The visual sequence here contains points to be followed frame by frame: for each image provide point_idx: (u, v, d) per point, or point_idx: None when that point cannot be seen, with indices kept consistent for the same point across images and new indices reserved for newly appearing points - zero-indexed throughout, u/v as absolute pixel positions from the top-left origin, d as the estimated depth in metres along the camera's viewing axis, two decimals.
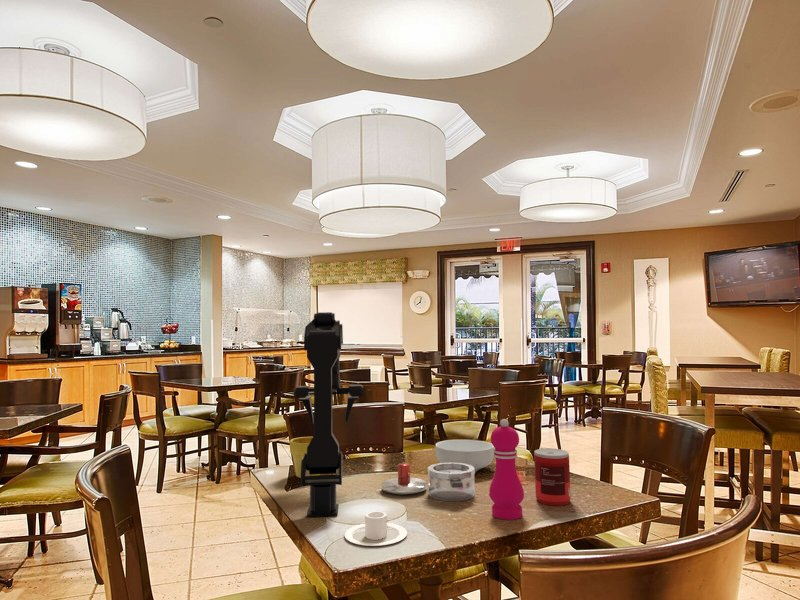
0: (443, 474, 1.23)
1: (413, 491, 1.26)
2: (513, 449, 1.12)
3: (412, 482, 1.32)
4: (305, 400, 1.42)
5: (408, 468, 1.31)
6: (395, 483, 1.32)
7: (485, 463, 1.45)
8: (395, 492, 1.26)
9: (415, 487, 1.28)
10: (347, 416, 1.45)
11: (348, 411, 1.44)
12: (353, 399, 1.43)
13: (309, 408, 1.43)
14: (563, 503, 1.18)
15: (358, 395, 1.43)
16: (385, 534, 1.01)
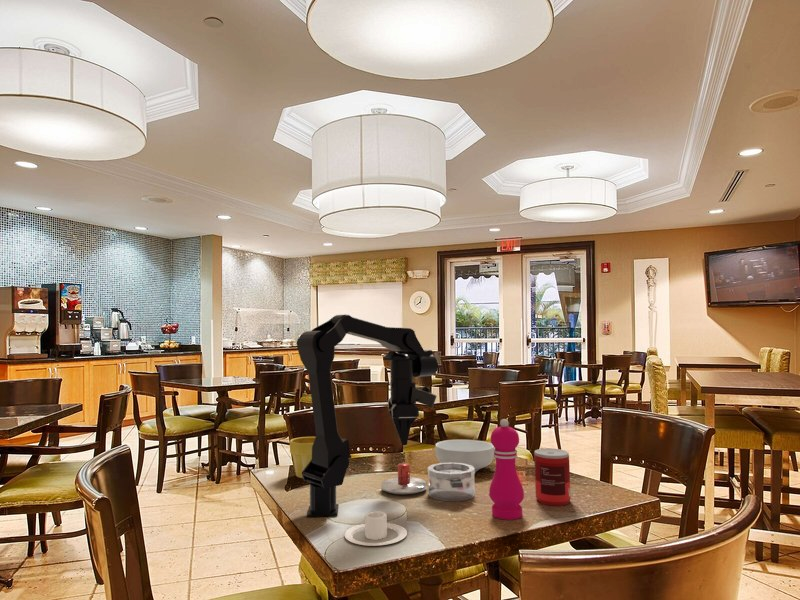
0: (443, 474, 1.23)
1: (413, 491, 1.26)
2: (513, 449, 1.12)
3: (412, 482, 1.32)
4: (389, 411, 1.39)
5: (408, 468, 1.31)
6: (395, 483, 1.32)
7: (485, 463, 1.45)
8: (395, 492, 1.26)
9: (415, 487, 1.28)
10: (399, 437, 1.27)
11: (397, 432, 1.27)
12: (392, 419, 1.26)
13: None
14: (563, 503, 1.18)
15: (392, 415, 1.25)
16: (385, 534, 1.01)
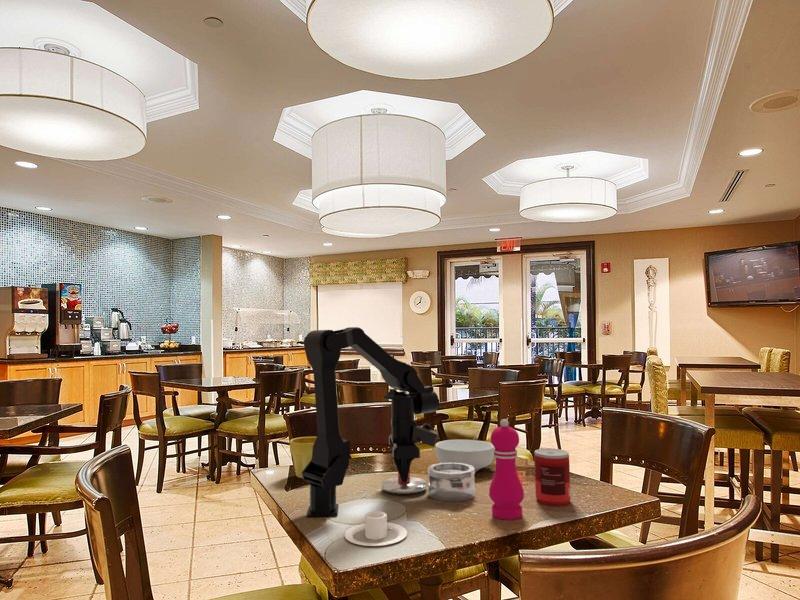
0: (443, 474, 1.23)
1: (413, 491, 1.26)
2: (513, 449, 1.12)
3: (412, 482, 1.32)
4: None
5: None
6: (395, 482, 1.32)
7: (485, 463, 1.45)
8: (395, 492, 1.26)
9: (415, 487, 1.28)
10: None
11: None
12: None
13: None
14: (563, 503, 1.18)
15: (393, 456, 1.24)
16: (385, 534, 1.01)
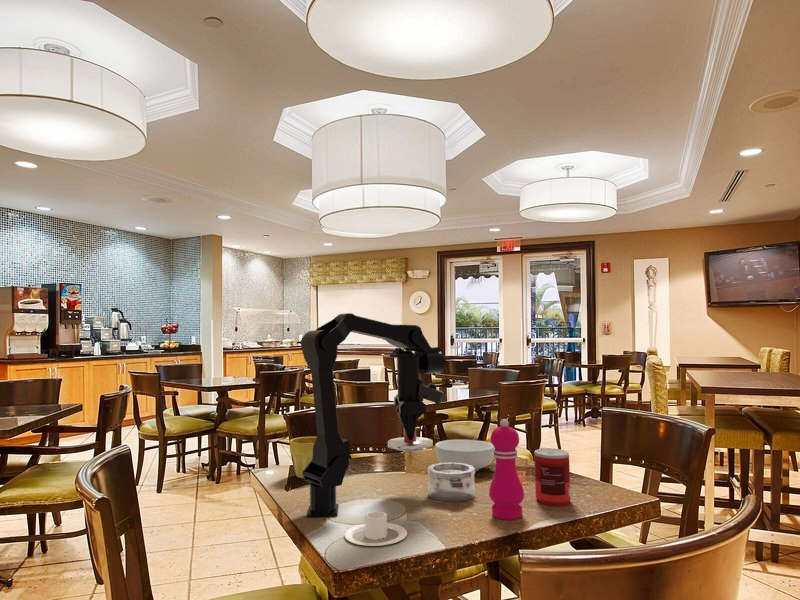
0: (443, 474, 1.23)
1: (419, 447, 1.27)
2: (513, 449, 1.12)
3: (418, 440, 1.32)
4: None
5: None
6: (401, 441, 1.32)
7: (485, 463, 1.45)
8: (401, 448, 1.27)
9: (421, 444, 1.28)
10: (406, 432, 1.30)
11: (403, 427, 1.30)
12: (399, 414, 1.28)
13: (400, 419, 1.34)
14: (563, 503, 1.18)
15: (400, 412, 1.24)
16: (385, 534, 1.01)
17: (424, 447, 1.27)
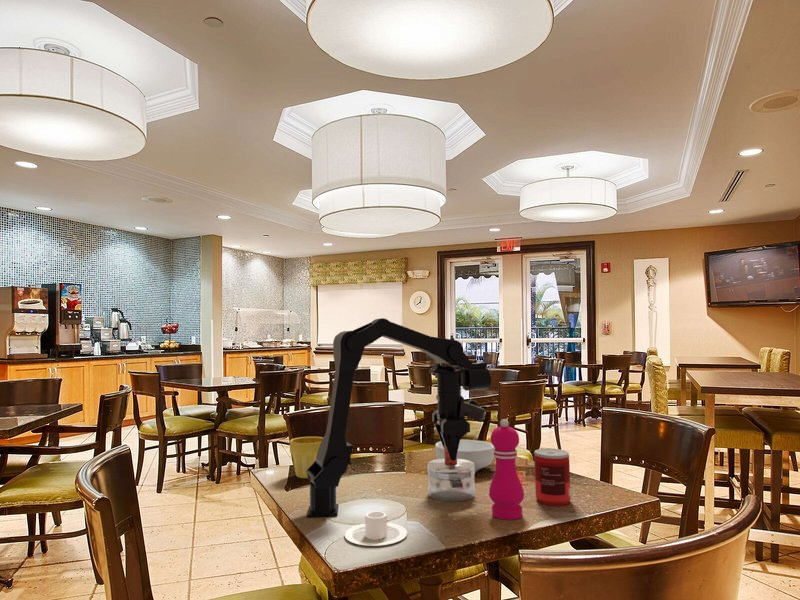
0: (443, 474, 1.23)
1: (462, 471, 1.23)
2: (513, 449, 1.12)
3: (459, 463, 1.28)
4: (435, 425, 1.33)
5: None
6: (441, 463, 1.28)
7: (485, 463, 1.45)
8: (443, 472, 1.23)
9: (464, 467, 1.24)
10: (448, 452, 1.24)
11: (446, 447, 1.24)
12: (441, 433, 1.23)
13: None
14: (563, 503, 1.18)
15: (442, 431, 1.20)
16: (385, 534, 1.01)
17: (466, 471, 1.23)
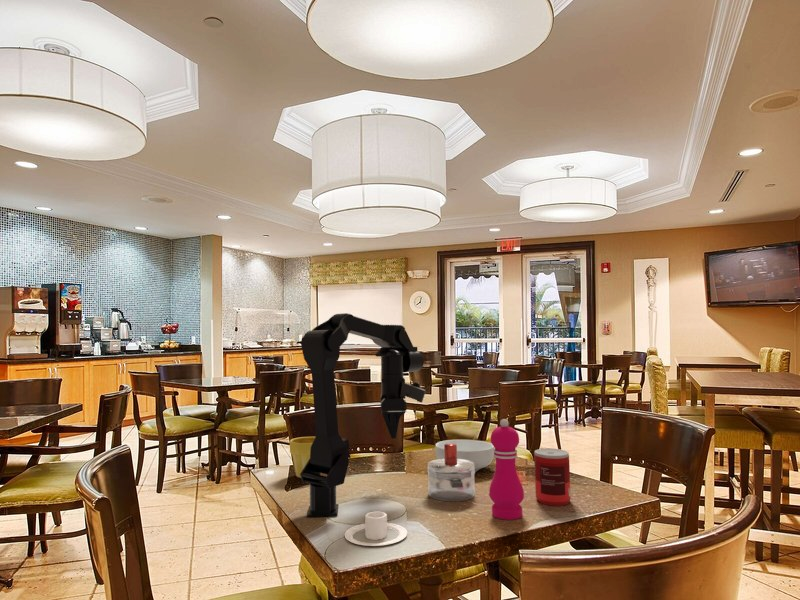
0: (443, 474, 1.23)
1: (462, 471, 1.23)
2: (513, 449, 1.12)
3: (459, 463, 1.28)
4: None
5: (455, 448, 1.27)
6: (441, 463, 1.28)
7: (485, 463, 1.45)
8: (443, 472, 1.23)
9: (464, 467, 1.24)
10: None
11: None
12: (381, 412, 1.30)
13: None
14: (563, 503, 1.18)
15: (381, 409, 1.29)
16: (385, 534, 1.01)
17: (466, 471, 1.23)
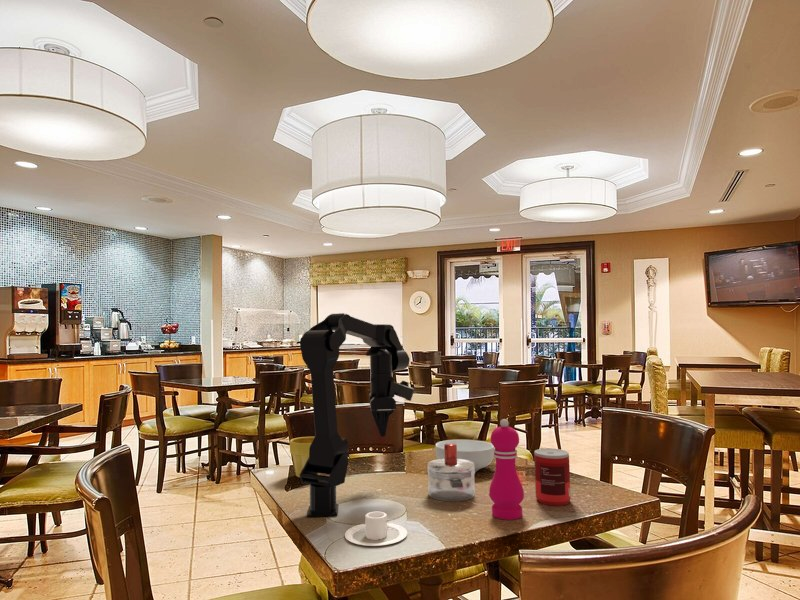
0: (443, 474, 1.23)
1: (462, 471, 1.23)
2: (513, 449, 1.12)
3: (459, 463, 1.28)
4: None
5: (455, 448, 1.27)
6: (441, 463, 1.28)
7: (485, 463, 1.45)
8: (443, 472, 1.23)
9: (464, 467, 1.24)
10: (378, 429, 1.33)
11: (376, 424, 1.33)
12: (371, 411, 1.32)
13: None
14: (563, 503, 1.18)
15: None
16: (385, 534, 1.01)
17: (466, 471, 1.23)
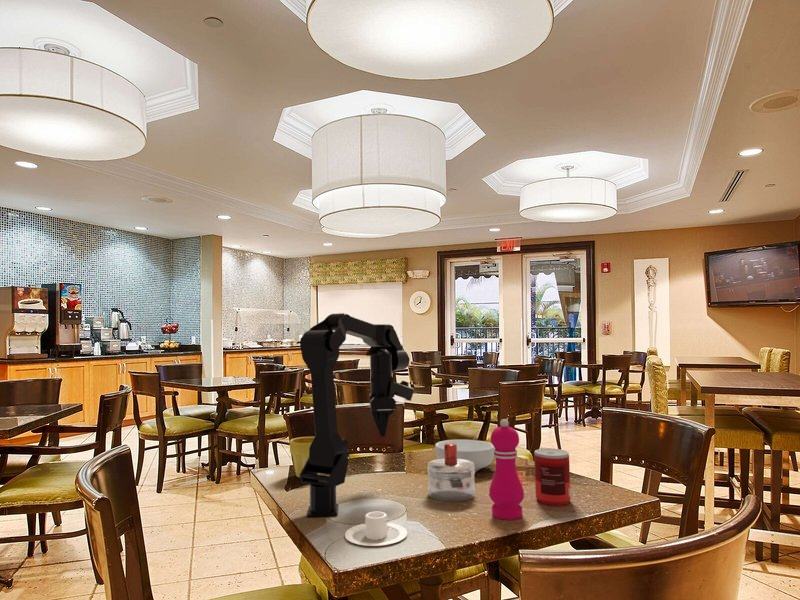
0: (443, 474, 1.23)
1: (462, 471, 1.23)
2: (513, 449, 1.12)
3: (459, 463, 1.28)
4: None
5: (455, 448, 1.27)
6: (441, 463, 1.28)
7: (485, 463, 1.45)
8: (443, 472, 1.23)
9: (464, 467, 1.24)
10: (378, 429, 1.33)
11: (376, 424, 1.33)
12: (371, 411, 1.32)
13: None
14: (563, 503, 1.18)
15: (370, 407, 1.30)
16: (385, 534, 1.01)
17: (466, 471, 1.23)
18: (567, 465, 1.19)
